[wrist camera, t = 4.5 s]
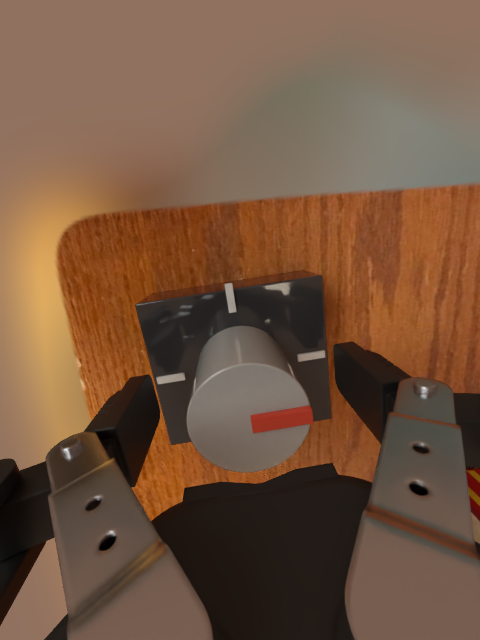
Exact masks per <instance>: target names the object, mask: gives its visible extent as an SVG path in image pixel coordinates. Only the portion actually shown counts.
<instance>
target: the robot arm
mask: <svg viewBox="0 0 480 640" xmlns="http://www.w3.org/2000/svg"><path fill="white" fill-rule="evenodd" d="M333 352H334V367H335V380H336V384H337V387H338V389H339V391H340V393H341V394H342V395H343V397H344V398H345V399H346V400H347V402H348V403H349V404H350V405H351V407H352V408H353V409H354V411H355V412H356V413H357V414H358V416H359V417H360V418H361V419H362V421H363V422H364V423H365V424H366V426H367V427H368V428H369V430H370V431H371V432H372V433H373V435H374V436H375V437H376V438H377V440H378V441H379V442H380V443H381V449H380V453H379V458H378V462H377V466H376V471H375V475H374V480H373V483H371V482H369V481H366V480H363V479H359V478H355V477H350V476H344V475H338V473H337V471H336V469H335V467H334V465H333V463H329V464H323V465H317V466H311V467H305V468H299V469H295V470H293V471H290V472H288V473H286V474H283V475H281V476H278V477H276V478H273V479H271V480H269V481H266V482H264V483H260V484H250V483H233V482H217V483H211V484H205V485H200V486H194V487H188V488H185V489H184V495H183V502H181V503H178V504H176V505H174V506H173V507H171V508H169V509H167V510H166V511H164V512H163V513H161V514H160V515H159V516H157V517H156V518H155V519H153V520H152V521H150V520H149V518H148V516H147V514H146V513H145V511H144V509H143V507H142V506H141V504H140V502H139V501H138V499H137V497H136V495H135V494H134V492H133V490H132V489H131V487H135V485H136V482H137V480H138V477H139V474H140V472H141V469H142V466H143V463H144V461H145V458H146V455H147V453H148V450H149V447H150V445H151V442H152V439H153V436H154V434H155V431H156V428H157V426H158V423H159V419H160V409H159V405H158V401H157V397H156V393H155V390H154V386H153V382H152V379H151V377H150V375H143V376H137V377H131V378H130V379H129V380H128V381H127V383H126V384H125V386H124V387H123V388H122V390H121V391H118V392H117V393H115V394H114V395H113V396H111V397H110V398H109V399H108V400H107V401H106V403H105V404H104V405H103V408H101V409H100V411H99V412H98V414H97V415H96V416H95V417H94V419H93V420H92V421H91V423H90V424H89V425H88V427H87V428H86V429H85V431H84V432H81V433H78V434H75V435H72V436H70V437H68V438H66V439H64V440H63V441H61V442H59V443H58V444H57V445H56V446H54V447H53V448H52V449H51V450H50V451H49V453H48V454H47V456H46V461H45V462H42V463H40V464H37V465H34V466H31V467H29V468H26V469H23V470H20V471H19V469H18V467H17V465H16V463H15V461H14V460H13V459H2V460H0V625H1V624H2V622H3V620H4V618H5V616H6V615H7V613H8V611H9V609H10V607H11V605H12V603H13V602H14V600H15V598H16V596H17V594H18V592H19V591H20V589H21V587H22V585H23V583H24V582H25V580H26V578H27V576H28V574H29V572H30V571H31V569H32V567H33V565H34V563H35V562H36V560H37V558H38V556H39V554H40V552H41V551H42V549H43V547H44V545H45V543H46V541H47V540H50V539H52V538H54V537H55V542H56V547H57V553H58V559H59V565H60V570H61V576H62V582H63V588H64V593H65V600H66V605H67V611H68V614H67V615H66V616H65V617H64V618H63V619H62V620H61V622H60V623H59V624H58V625H57V626H56V627H55V628H54V629H53V631H52V632H51V633H50V634H49V635H48V636H47V637H46V638H45V639H44V640H480V543H478V542H476V541H475V540H474V532H473V524H472V516H471V507H470V499H469V491H468V483H467V475H466V467H476V468H479V469H480V394H471V393H453V391H452V389H451V388H450V387H449V386H448V385H446V384H445V383H443V382H440V381H438V380H435V379H430V378H424V377H411V376H410V375H408V374H407V373H405V372H404V371H402V370H401V369H400V368H398V367H397V366H394V364H392V363H391V362H390V361H387V359H385V358H384V357H382V356H381V355H380V354H377V353H374V352H371V351H368V350H366V351H365V350H364V349H362V348H361V347H360V346H358V345H357V344H356V343H354V342H346V343H340V344H335V345H334V349H333Z"/></svg>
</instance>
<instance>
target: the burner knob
mask: <svg viewBox="0 0 480 640" xmlns="http://www.w3.org/2000/svg"><path fill="white" fill-rule="evenodd" d="M310 424H313V411H312V408H311V407H310V402H309V399H308V396H307V394H306V392H305V390H304V388H303V386H302V385H301V383H300V381H299V379H298V378H297V376H296V374H295V372H294V371H293V369H292V367H291V365H290V364H289V362H288V360H287V358H286V357H285V355H284V353H283V351H282V350H281V348H280V346H279V345H278V343H277V342H276V341H275V339H274V338H273V337H272V336H270V335H269V334H268V333H266V332H264V331H263V330H260V329H258V328H255V327H250V326H234V327H230V328H227V329H224V330H222V331H220V332H218V333H217V334H215V335H214V336H213V337H212V338H210V339H209V340H208V342H207V343H206V344H205V346H204V347H203V349H202V351H201V353H200V356H199V359H198V364H197V369H196V373H195V378H194V382H193V387H192V391H191V396H190V401H189V405H188V410H187V430H188V433H189V437H190V439H191V441H192V443H193V445H194V446H195V448H196V449H197V451H198V452H199V453H200V454H201V455H202V456H203V457H204V458H205V459H206V460H208V461H209V462H211V463H212V464H214V465H216V466H218V467H220V468H223V469H226V470H230V471H234V472H258V471H262V470H266V469H269V468H272V467H274V466H276V465H279V464H280V463H282V462H284V461H285V460H287V459H288V458H289V457H291V456H292V455H293V454H294V453H295V452H296V451H297V450H298V449H299V447H300V446H301V445H302V443H303V442H304V440H305V438H306V436H307V434H308V431H309V427H310Z"/></svg>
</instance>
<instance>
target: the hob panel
mask: <svg viewBox="0 0 480 640" xmlns="http://www.w3.org/2000/svg"><path fill="white" fill-rule="evenodd" d="M135 306H136V310H137V314H138V318H139V322H140V326H141V330H142V334H143V338H144V341H145V345H146V349H147V353H148V357H149V361H150V365H151V369H152V373H153V377H154V381H155V385H156V388H157V392H158V396H159V400H160V404H161V408H162V412H163V416H164V420H165V424H166V428H167V432H168V436H169V439H170V443H171V445H175V444H181V443H187V442H192V441H191V439H190V437H189V433H188V430H187V410H188V405H189V401H190V396H191V391H192V387H193V382H194V378H195V373H196V369H197V364H198V359H199V356H200V353H201V351H202V349H203V347H204V346H205V344H206V343H207V342H208V340H209V339H210V338H212V337H213V336H214V335H215V334H217V333H218V332H220V331H222V330H224V329H227V328H230V327H234V326H250V327H255V328H258V329H260V330H263V331H264V332H266V333H268V334H269V335H270V336H272V337H273V338H274V339H275V341H276V342H277V343H278V345H279V346H280V348H281V350H282V351H283V353H284V355H285V357H286V358H287V360H288V362H289V364H290V365H291V367H292V369H293V371H294V372H295V374H296V376H297V378H298V379H299V381H300V383H301V385H302V386H303V388H304V390H305V392H306V394H307V396H308V399H309V402H310V407H311V408H312V411H313V422H314V421H320V420H326V419H331V402H330V387H329V372H328V356H327V341H326V325H325V310H324V295H323V279H322V275H319V274H315V273H312V272H308V271H305V270H302V271H295V272H289V273H282V274H276V275H269V276H263V277H256V278H250V279H243V280H237V281H230V282H224V283H217V284H211V285H204V286H198V287H191V288H185V289H179V290H172V291H166V292H159V293H153V294H151V295H149V296H147V297H146V298H144V299H143V300H141V301H140V302H138V303H137V304H136V305H135Z"/></svg>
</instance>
